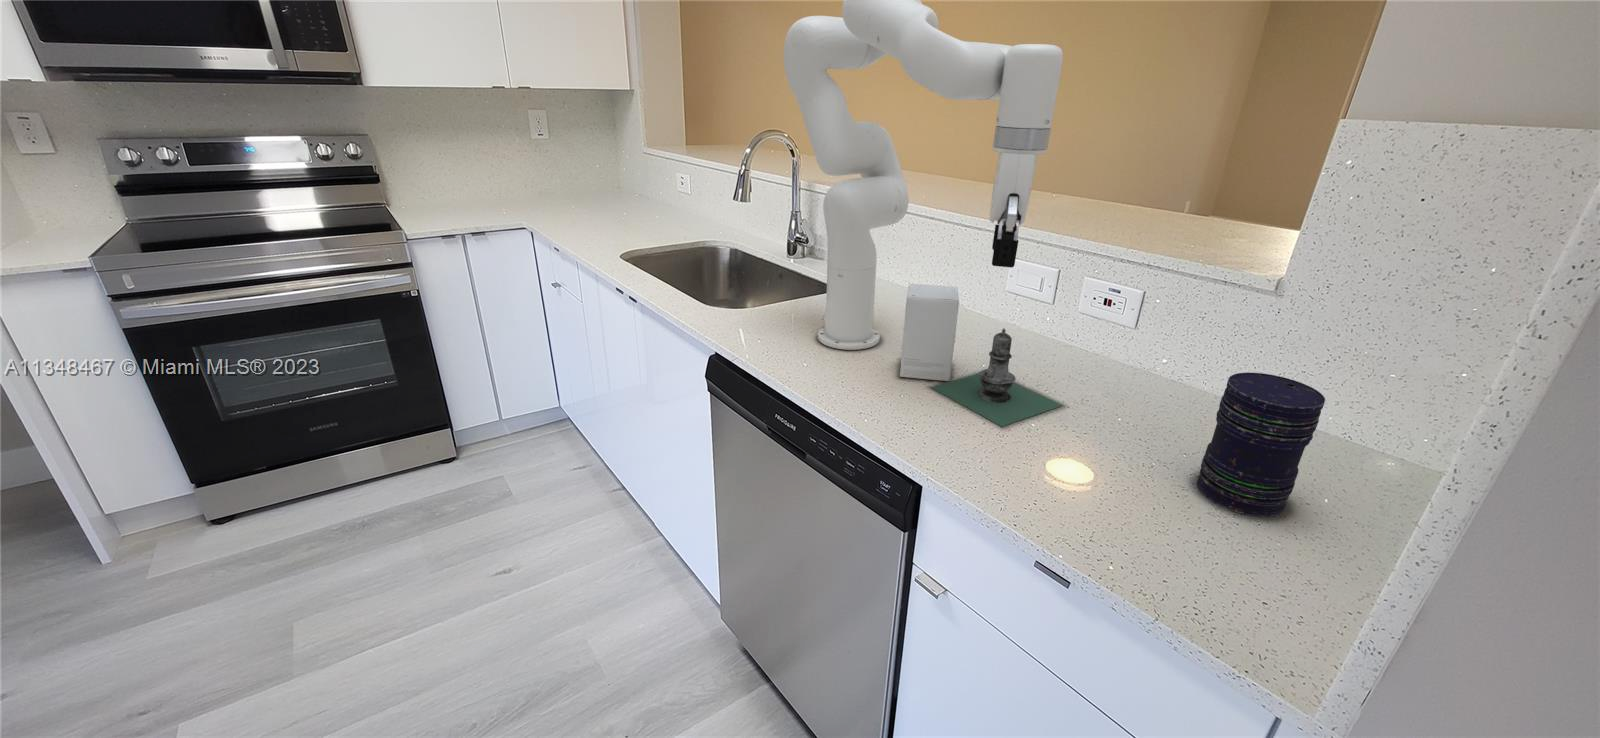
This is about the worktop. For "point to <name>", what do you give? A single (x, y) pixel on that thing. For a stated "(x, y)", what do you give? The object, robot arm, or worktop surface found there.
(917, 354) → the white product box
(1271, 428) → the storage jar
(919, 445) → the worktop surface
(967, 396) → the mat
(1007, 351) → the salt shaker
